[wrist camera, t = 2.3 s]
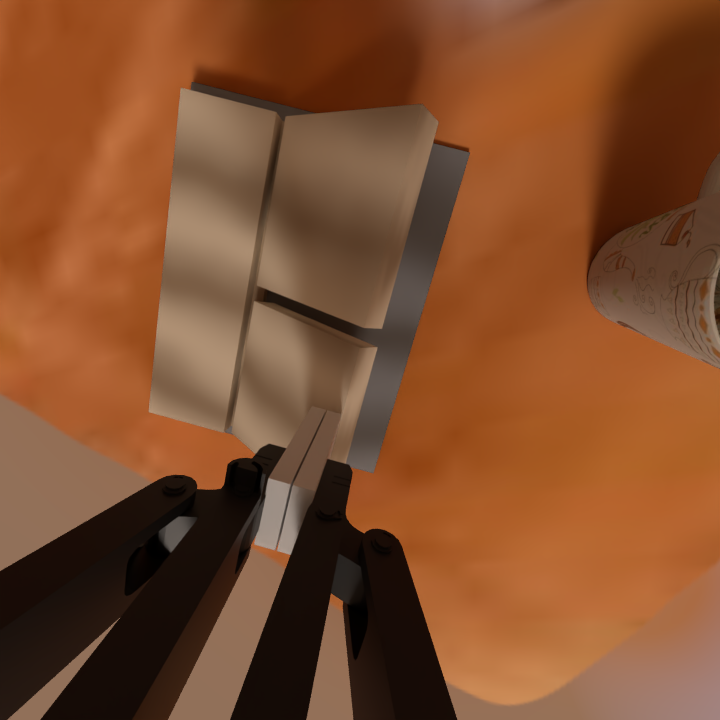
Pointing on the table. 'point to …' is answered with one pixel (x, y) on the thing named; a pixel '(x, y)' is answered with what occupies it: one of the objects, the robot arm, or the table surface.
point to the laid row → (243, 257)
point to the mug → (667, 275)
